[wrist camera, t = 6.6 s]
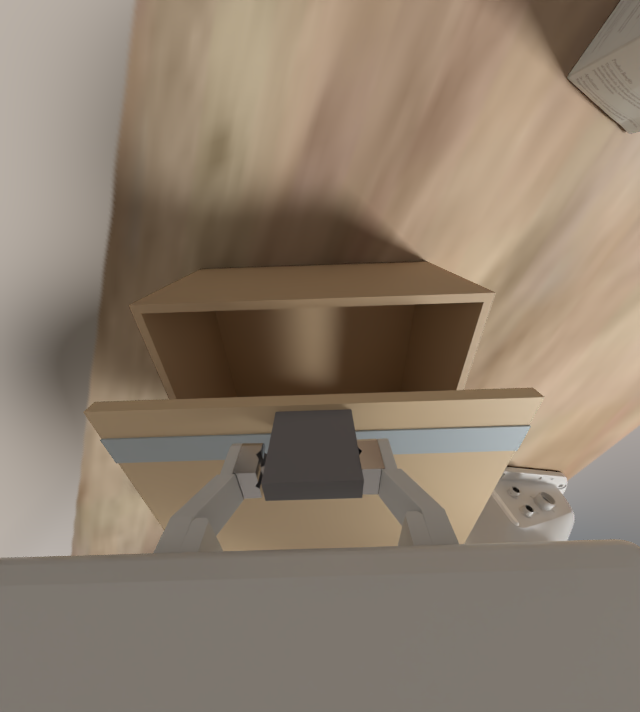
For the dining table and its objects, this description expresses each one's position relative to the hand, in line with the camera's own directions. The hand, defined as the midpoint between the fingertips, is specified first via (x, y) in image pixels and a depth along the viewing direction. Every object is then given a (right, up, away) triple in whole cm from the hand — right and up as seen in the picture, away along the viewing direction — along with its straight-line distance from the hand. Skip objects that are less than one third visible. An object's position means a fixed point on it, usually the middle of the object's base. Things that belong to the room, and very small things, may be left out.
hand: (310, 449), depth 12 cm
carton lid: (0, -6, +7) cm, 9 cm away
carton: (0, +6, +19) cm, 20 cm away
